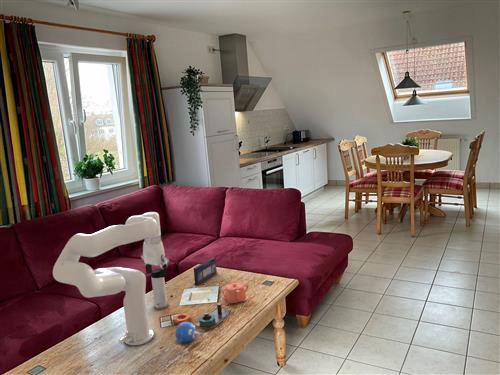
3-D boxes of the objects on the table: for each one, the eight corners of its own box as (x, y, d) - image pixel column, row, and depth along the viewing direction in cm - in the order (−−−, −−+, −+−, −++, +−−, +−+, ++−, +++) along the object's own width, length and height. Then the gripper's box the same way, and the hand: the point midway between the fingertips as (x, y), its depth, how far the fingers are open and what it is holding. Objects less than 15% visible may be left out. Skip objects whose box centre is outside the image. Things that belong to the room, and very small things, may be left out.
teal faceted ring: (208, 327, 189) (208, 322, 188) (196, 324, 192) (195, 319, 192) (218, 320, 195) (217, 315, 194) (205, 317, 198) (205, 312, 198)
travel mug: (159, 311, 210) (154, 273, 207) (152, 307, 215) (148, 270, 212) (170, 306, 215) (165, 269, 211) (163, 302, 219) (159, 266, 216)
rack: (209, 330, 188) (208, 319, 187) (195, 326, 192) (194, 315, 191) (231, 312, 203) (230, 302, 202) (218, 309, 207) (217, 299, 206)
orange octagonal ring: (183, 326, 193) (182, 321, 193) (171, 323, 197) (170, 318, 197) (193, 319, 199) (192, 314, 199) (181, 316, 203) (180, 312, 203)
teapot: (231, 294, 223) (229, 277, 222) (251, 298, 217) (249, 280, 216) (219, 304, 213) (217, 286, 212) (239, 308, 208) (238, 289, 206)
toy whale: (196, 351, 173) (194, 332, 171) (170, 347, 177) (168, 329, 175) (208, 336, 184) (207, 318, 182) (184, 332, 188) (182, 315, 186)
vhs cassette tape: (198, 285, 238) (196, 268, 237) (194, 284, 240) (192, 267, 238) (217, 273, 253) (216, 258, 252) (213, 273, 255) (212, 257, 253)
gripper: (133, 239, 194) (137, 274, 197) (160, 243, 184) (164, 281, 187) (145, 235, 200) (149, 269, 203) (172, 239, 190) (175, 275, 193)
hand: (156, 275), depth 195 cm, fingers open, 9 cm apart
